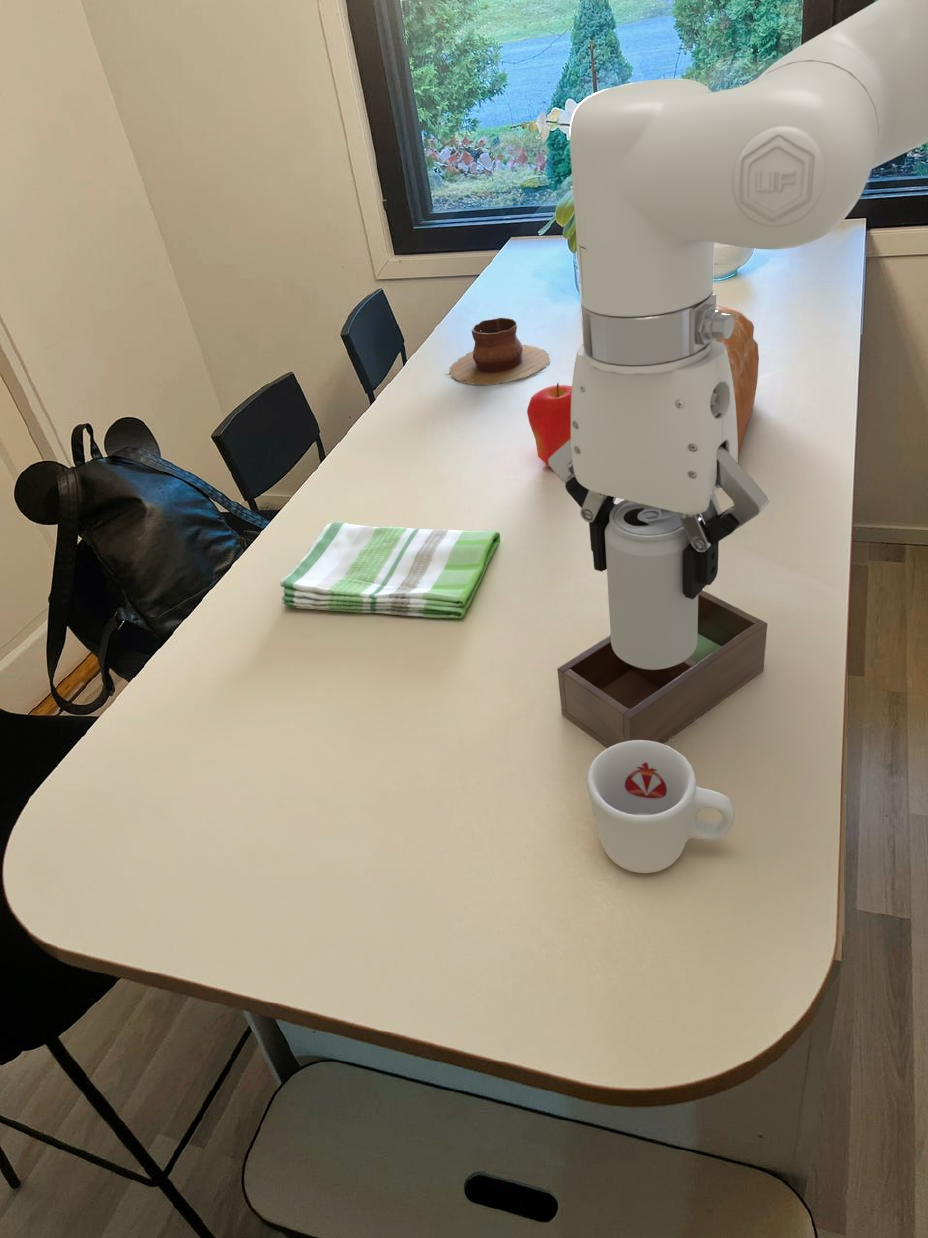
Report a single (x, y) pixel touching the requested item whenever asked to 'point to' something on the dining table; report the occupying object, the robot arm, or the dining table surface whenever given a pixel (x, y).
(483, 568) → the dish towel
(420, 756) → the dining table surface
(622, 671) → the wooden compartment box
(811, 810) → the dining table surface
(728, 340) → the bread
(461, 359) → the ceramic pot
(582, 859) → the dining table surface
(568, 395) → the apple
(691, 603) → the beverage can
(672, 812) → the cup
